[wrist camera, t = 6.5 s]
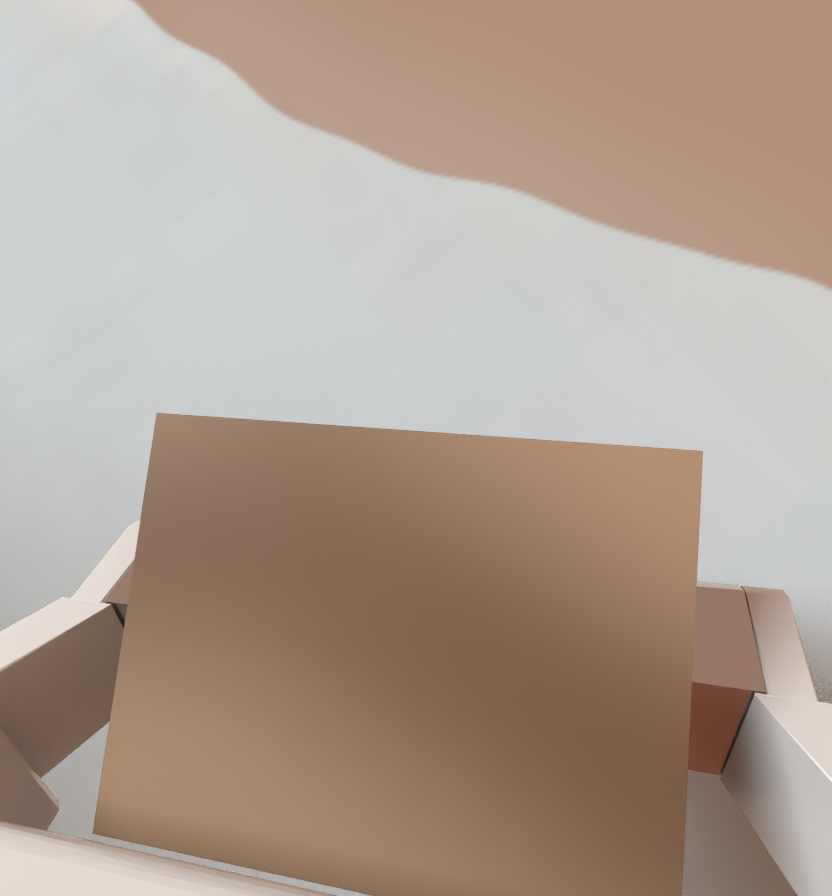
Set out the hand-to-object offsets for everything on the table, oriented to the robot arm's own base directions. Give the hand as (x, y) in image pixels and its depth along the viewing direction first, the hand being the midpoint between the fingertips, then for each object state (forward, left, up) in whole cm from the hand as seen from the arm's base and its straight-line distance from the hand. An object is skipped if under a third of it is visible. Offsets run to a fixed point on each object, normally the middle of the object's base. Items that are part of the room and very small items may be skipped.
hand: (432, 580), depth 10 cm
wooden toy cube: (0, 0, -4) cm, 4 cm away
